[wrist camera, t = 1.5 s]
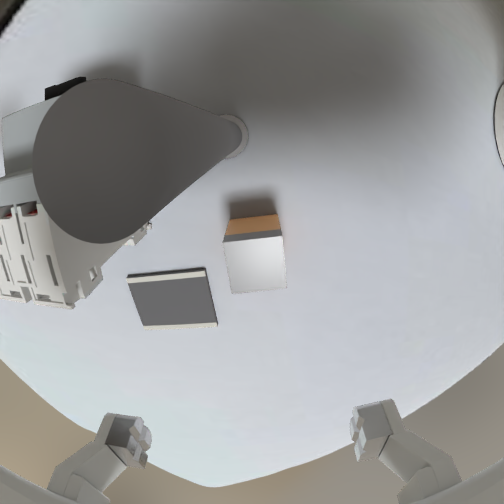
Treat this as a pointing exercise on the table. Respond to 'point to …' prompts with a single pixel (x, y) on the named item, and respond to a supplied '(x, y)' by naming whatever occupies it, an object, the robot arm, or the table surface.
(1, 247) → the circuit breaker
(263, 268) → the orange and grey block
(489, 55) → the table surface
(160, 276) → the mat
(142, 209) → the cord posts
